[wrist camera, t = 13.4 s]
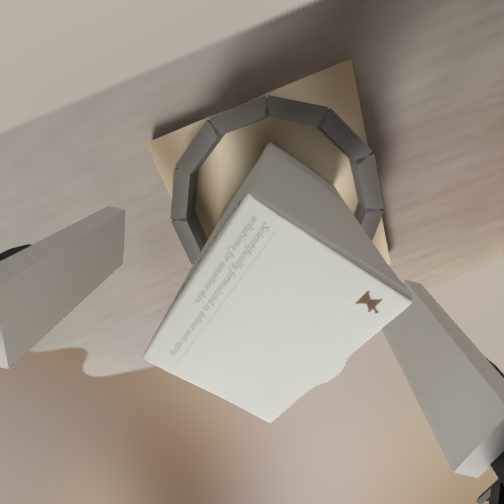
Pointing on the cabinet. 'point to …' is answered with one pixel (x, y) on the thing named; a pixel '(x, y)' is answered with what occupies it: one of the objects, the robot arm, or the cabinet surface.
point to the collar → (254, 142)
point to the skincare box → (277, 292)
